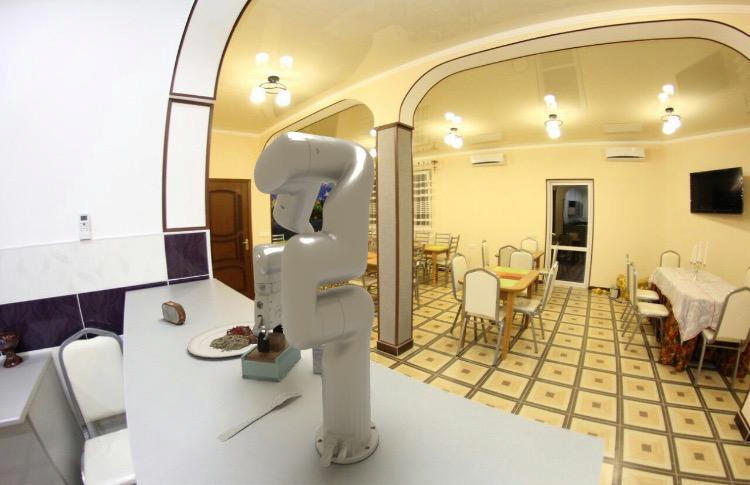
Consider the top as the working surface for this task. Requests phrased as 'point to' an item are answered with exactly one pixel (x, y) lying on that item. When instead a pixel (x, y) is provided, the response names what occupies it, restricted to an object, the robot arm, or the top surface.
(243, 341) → the plated food
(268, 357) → the cover plate
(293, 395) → the fork
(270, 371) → the slide box
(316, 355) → the medicine box
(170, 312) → the tin
